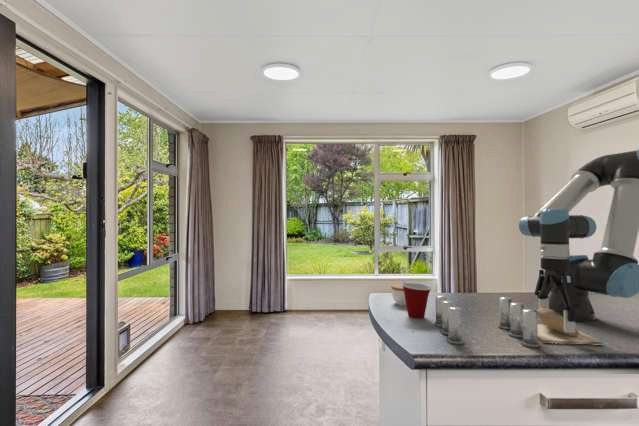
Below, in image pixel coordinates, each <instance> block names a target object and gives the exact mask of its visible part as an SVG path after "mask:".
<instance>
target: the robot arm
mask: <svg viewBox="0 0 639 426" xmlns="http://www.w3.org/2000/svg"><path fill="white" fill-rule="evenodd" d="M605 186H610V187H611V188H612V189H614V191H613V195H612V200H611V204H610V207H609V212H608V216H607V221H606V224H605V225H606V226H605V229H604V234H603V238H602V241H601V246H600V247H601V248H600V249H599V250H597V251H595V252H593V255H592V259H590V258H589V257H588V255H587V254H575V255H570V239H586V238H590V237H592V236H593V235H594V234H596V231H597V223H596V221H595V220H594V219H593V218H592V217H590V216H588V215H583V214H580V215H579V214H576V215H573V214H571V215H570V212H571V211H572V210H573V209H574V208H575V207H576V206H577V205H578V204H579V203H580V202H581V201H582V200H583V199H584V198H585V197H586V196H587V195H588V194H589V193H593V192H595V191H596V190H598V188H601V187H605ZM518 229H519V231H520V233H521V234H522V235H524V236H527V237H532V238H536V237H537V238H538V237H539V238H540V247H539V250H540V256H542V257H541V258H540V269H539V273H538V278H537V282H536V286H535V290H534V295H535V296H537V299H538V309H540V308H541V306H543V307H545V308H549V309H552V310H554V311H555V312H557V313H558V314H559V315H560V316H562V317H563V318H564V332H574V333H575V329H576V322H593V321H592V320H594V321H596V313H595V311H594V307H593V305H592V303H591V300H590V298H589V297H590V296H589V293H595V294H600V295H606V296H610V297H612V298H625V299H630V298H633V297H634V296H635V295H637V294H638V293H639V264H638V263H639V260H638V259H637V258H636V257H635V256H634V253H635V248H636V243H637V240H638V239H637V238H638V235H639V149H636V150H632V151H626V152H619V153H618V152H617V153H612V154H605V155H602V156H599V157H596V158H595V159H592V160H590V161H589V162H586V164H584V165H583V166H581V167H580V168H579V169H577V170H576V171H575V172H574V173H573V174H572V175H571V177H570V180H569V182H568V183H566V184H565V185H564V186H563V187H562V188H561V189H559V190H558V192H557V193H555V194H554V196H552V197H551V198H550V199H549V200H548V201H547V202H546V203H545V204H544V205H542V206H541V208H539V209H538V210H537V211H536V213H534V214H533V215H526V216H523V217H522V218H520V220H519V222H518ZM538 319H540V317H539V316H538ZM540 320H541V319H540Z"/></svg>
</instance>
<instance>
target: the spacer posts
mask: <svg viewBox="0 0 639 426" xmlns="http://www.w3.org/2000/svg"><path fill="white" fill-rule="evenodd" d="M512 299H513V298H512V297H509V296H500V297H499V302H498V303H499V323H498V326H497V327H498V328H499V329H501V330H506V331H509V332H508V335H509V337H512V338H515V339H522V340H521V343H520V344H521V345H522V346H524V347H526V348H529V349H539V348H540V343H539V342H538V341H539V340H538V333H537V324H538V313H537V309H532V308H531V309H530V308H524V304H523V303H522V302H515V301H514V302H513V301H512ZM454 304H455V303H454V301H451V300H448V296H446V295H441V294H440V295H435V321H434V327H437V328H441V329H440V330H439V331H440V334H441V335H444V336H447V338H446V343H448V344H449V345H455V346H461V345H463V344H464V340H463V338H462V333H463V332H462V307H458V306H454Z"/></svg>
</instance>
